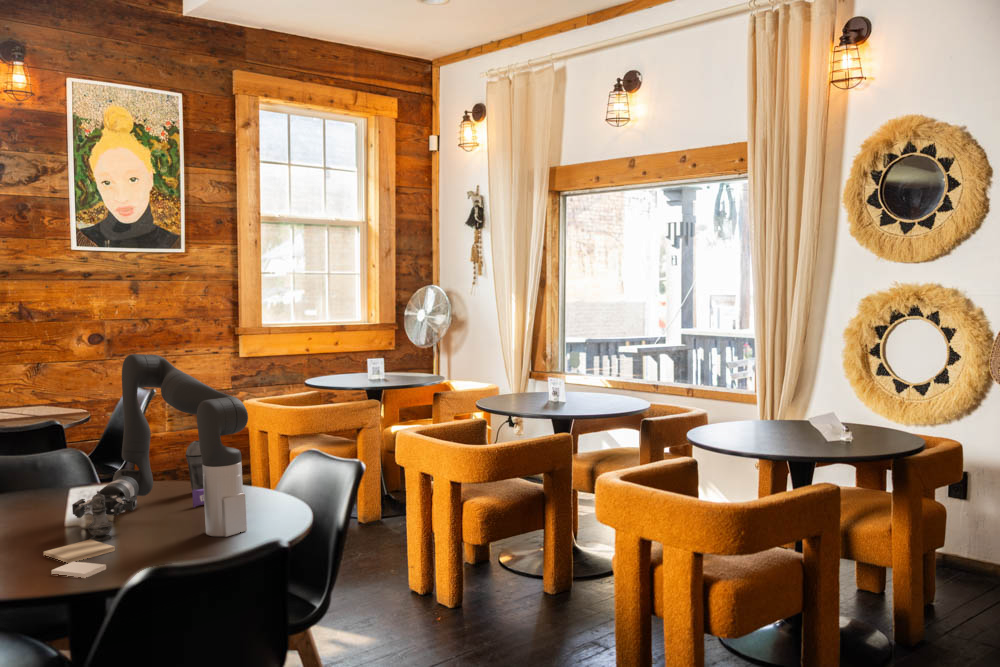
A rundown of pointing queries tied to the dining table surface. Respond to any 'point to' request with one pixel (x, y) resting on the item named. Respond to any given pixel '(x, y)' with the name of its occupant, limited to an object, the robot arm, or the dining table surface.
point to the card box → (79, 569)
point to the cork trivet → (79, 551)
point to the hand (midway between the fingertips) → (96, 512)
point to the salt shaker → (99, 520)
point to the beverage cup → (195, 465)
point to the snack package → (198, 497)
